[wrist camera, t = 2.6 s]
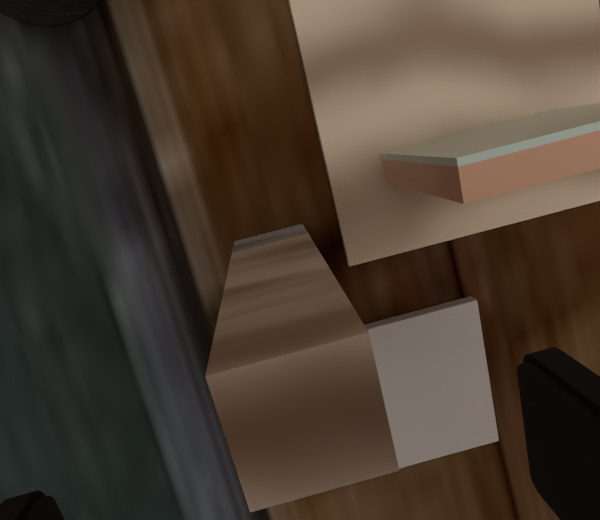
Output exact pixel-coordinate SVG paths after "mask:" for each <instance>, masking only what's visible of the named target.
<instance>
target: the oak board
mask: <svg viewBox="0 0 600 520" xmlns="http://www.w3.org/2000/svg"><path fill="white" fill-rule="evenodd" d="M288 4H289V9H290V13H291V17H292V22H293V26H294V31H295V35H296V39H297V44H298V48H299V53H300V57H301V61H302V66H303V70H304V75H305V79H306V83H307V88H308V92H309V97H310V101H311V106H312V110H313V114H314V119H315V123H316V128H317V132H318V136H319V141H320V145H321V150H322V154H323V158H324V163H325V167H326V172H327V176H328V180H329V185H330V189H331V194H332V198H333V203H334V207H335V211H336V216H337V220H338V225H339V229H340V233H341V238H342V242H343V247H344V251H345V255H346V260H347V264H348V265H349V267H350V266H353V265H357V264H361V263H365V262H369V261H372V260H376V259H380V258H384V257H388V256H391V255H395V254H399V253H403V252H406V251H410V250H414V249H418V248H422V247H425V246H429V245H433V244H437V243H441V242H444V241H448V240H452V239H456V238H460V237H463V236H467V235H471V234H475V233H479V232H482V231H486V230H490V229H494V228H498V227H501V226H505V225H509V224H513V223H516V222H520V221H524V220H528V219H532V218H535V217H539V216H543V215H547V214H551V213H554V212H558V211H562V210H566V209H570V208H573V207H577V206H581V205H585V204H589V203H592V202H596V201H600V168H599V169H595V170H592V171H588V172H584V173H580V174H576V175H573V176H569V177H565V178H561V179H557V180H553V181H550V182H546V183H542V184H538V185H534V186H530V187H527V188H523V189H519V190H515V191H511V192H507V193H504V194H500V195H496V196H492V197H488V198H485V199H481V200H477V201H473V202H469V203H465V204H462V203H459V202H455V201H451V200H448V199H444V198H441V197H437V196H433V195H430V194H426V193H423V192H419V191H416V190H412V189H408V188H405V187H401V186H398V185H394V184H391V183H387V182H385V176H384V171H383V166H382V161H381V156H380V153H383V152H387V151H391V150H395V149H399V148H403V147H407V146H411V145H415V144H418V143H422V142H426V141H430V140H434V139H438V138H442V137H446V136H450V135H454V134H457V133H461V132H465V131H469V130H473V129H477V128H481V127H485V126H489V125H493V124H496V123H500V122H504V121H508V120H512V119H516V118H520V117H524V116H528V115H532V114H535V113H539V112H543V111H547V110H551V109H556V108H564V107H572V106H580V105H588V104H596V103H600V9H599V0H288Z"/></svg>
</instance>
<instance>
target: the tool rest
mask: <svg viewBox="0 0 600 520" xmlns="http://www.w3.org/2000/svg"><path fill="white" fill-rule="evenodd" d="M364 326H365V327H366V329H367V330H368V332H369V336H370V341H371V345H372V350H373V354H374V358H375V363H376V367H377V372H378V376H379V381H380V385H381V390H382V394H383V399H384V403H385V408H386V412H387V417H388V421H389V426H390V430H391V435H392V439H393V444H394V448H395V453H396V457H397V462H398V466H399V468H403V467H406V466H410V465H414V464H417V463H421V462H424V461H428V460H431V459H435V458H439V457H442V456H446V455H449V454H453V453H457V452H460V451H464V450H467V449H471V448H475V447H478V446H482V445H485V444H489V443H493V442H496V441H499V439H498V432H497V426H496V419H495V413H494V406H493V400H492V393H491V387H490V380H489V374H488V367H487V361H486V355H485V348H484V342H483V335H482V329H481V322H480V316H479V309H478V303H477V300H476V299H475V298H473V297H472V296H469V297H466V298H462V299H458V300H454V301H451V302H447V303H443V304H439V305H436V306H432V307H428V308H424V309H421V310H417V311H413V312H410V313H406V314H402V315H398V316H395V317H391V318H387V319H383V320H380V321H376V322H372V323H368V324H365V325H364Z"/></svg>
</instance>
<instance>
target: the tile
mask: <svg viewBox="0 0 600 520" xmlns="http://www.w3.org/2000/svg"><path fill="white" fill-rule="evenodd" d="M380 156H381V161H382V166H383V171H384V176H385V182H387V183H391V184H394V185H398V186H401V187H405V188H408V189H412V190H416V191H419V192H423V193H426V194H430V195H433V196H437V197H441V198H444V199H448V200H451V201H455V202H459V203H462V204H465V203H469V202H473V201H477V200H481V199H485V198H488V197H492V196H496V195H500V194H504V193H507V192H511V191H515V190H519V189H523V188H527V187H530V186H534V185H538V184H542V183H546V182H550V181H553V180H557V179H561V178H565V177H569V176H573V175H576V174H580V173H584V172H588V171H592V170H595V169H599V168H600V103H596V104H588V105H580V106H572V107H564V108H556V109H551V110H547V111H543V112H539V113H535V114H532V115H528V116H524V117H520V118H516V119H512V120H508V121H504V122H500V123H496V124H493V125H489V126H485V127H481V128H477V129H473V130H469V131H465V132H461V133H457V134H454V135H450V136H446V137H442V138H438V139H434V140H430V141H426V142H422V143H418V144H415V145H411V146H407V147H403V148H399V149H395V150H391V151H387V152H383V153H380Z"/></svg>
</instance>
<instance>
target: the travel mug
mask: <svg viewBox="0 0 600 520" xmlns="http://www.w3.org/2000/svg"><path fill="white" fill-rule="evenodd" d="M98 1H99V0H0V13H2V14H4V15H7V16H9V17H11V18H14V19H16V20H19V21H22V22H25V23H29V24H33V25H40V26H53V25H61V24H65V23H69V22H71V21H74V20H76V19H78V18H80V17H82V16H83V15H85V14H86V13H87V12H89V11H90V10H91V9H92V8H93V7H94V6H95V5H96V4H97V3H98Z"/></svg>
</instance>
